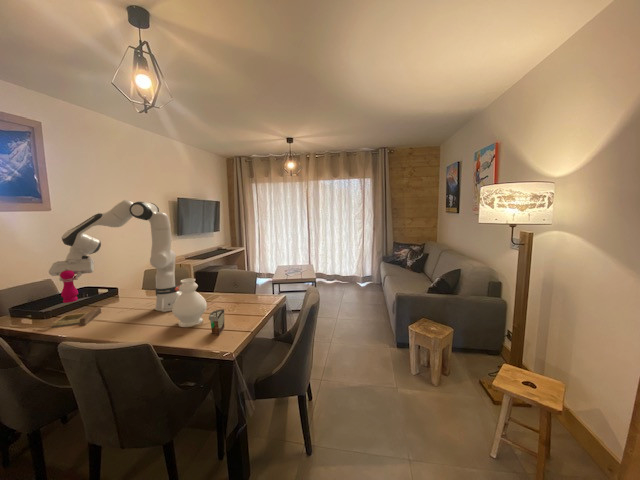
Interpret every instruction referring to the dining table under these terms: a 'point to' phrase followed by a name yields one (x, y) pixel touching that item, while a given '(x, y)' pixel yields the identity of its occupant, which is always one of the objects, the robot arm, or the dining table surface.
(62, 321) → the index plate
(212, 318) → the food container
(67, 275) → the pepper mill
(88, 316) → the walnut sill
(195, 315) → the decorative vase
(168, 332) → the dining table surface
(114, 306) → the dining table surface
